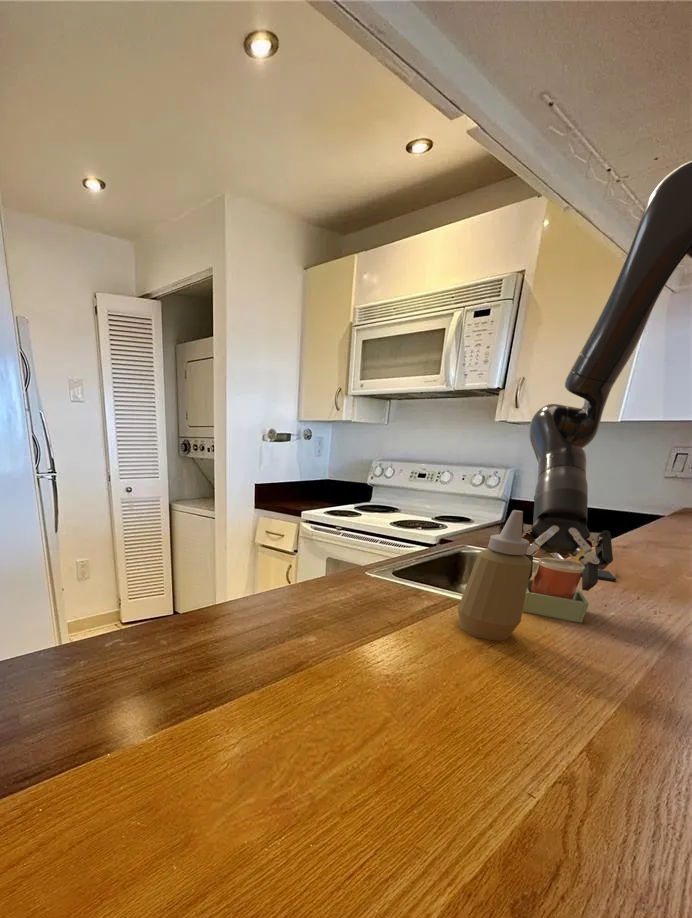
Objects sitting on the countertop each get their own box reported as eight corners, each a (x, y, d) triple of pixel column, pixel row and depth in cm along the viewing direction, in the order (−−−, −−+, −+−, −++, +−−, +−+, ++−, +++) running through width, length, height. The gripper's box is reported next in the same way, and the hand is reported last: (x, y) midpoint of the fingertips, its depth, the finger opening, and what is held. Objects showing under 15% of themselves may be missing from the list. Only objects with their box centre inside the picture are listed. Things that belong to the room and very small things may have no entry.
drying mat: (607, 573, 102) (608, 571, 102) (615, 581, 97) (616, 579, 97) (570, 567, 105) (571, 565, 104) (575, 575, 99) (576, 572, 99)
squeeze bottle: (454, 642, 65) (488, 512, 58) (449, 620, 72) (479, 502, 66) (519, 654, 63) (562, 521, 56) (507, 630, 70) (545, 509, 63)
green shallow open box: (569, 609, 80) (577, 587, 78) (580, 628, 73) (589, 603, 71) (514, 599, 83) (520, 577, 81) (519, 616, 76) (526, 592, 74)
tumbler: (564, 607, 79) (580, 561, 76) (571, 620, 74) (589, 572, 71) (522, 599, 81) (536, 555, 78) (527, 611, 76) (542, 564, 73)
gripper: (521, 481, 79) (515, 565, 73) (620, 491, 75) (622, 580, 69) (507, 508, 86) (500, 586, 80) (597, 518, 82) (597, 601, 76)
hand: (557, 583), depth 75 cm, fingers open, 8 cm apart
